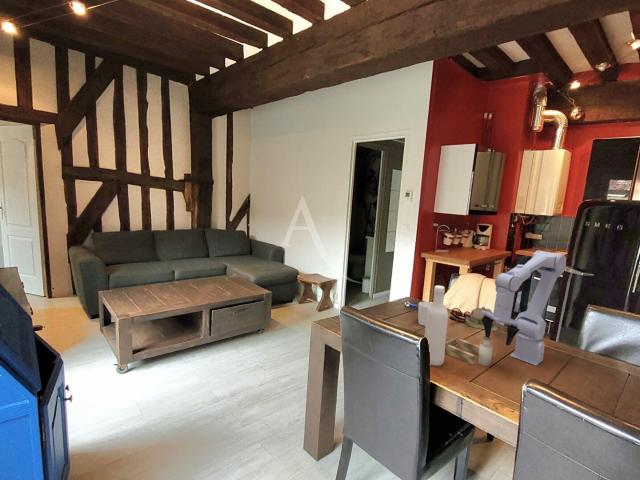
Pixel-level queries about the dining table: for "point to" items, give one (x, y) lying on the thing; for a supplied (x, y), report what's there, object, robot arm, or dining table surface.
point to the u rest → (461, 353)
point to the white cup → (422, 312)
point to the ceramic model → (478, 319)
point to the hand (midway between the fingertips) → (497, 340)
